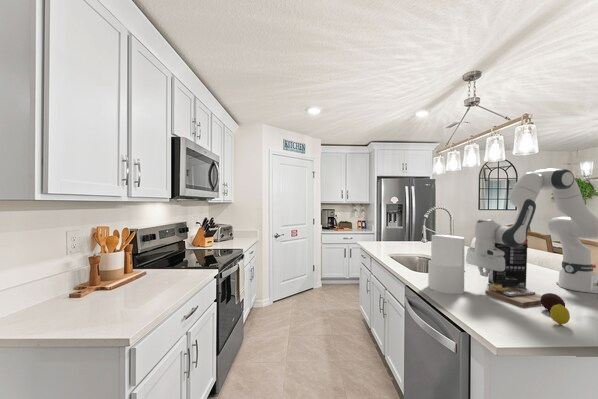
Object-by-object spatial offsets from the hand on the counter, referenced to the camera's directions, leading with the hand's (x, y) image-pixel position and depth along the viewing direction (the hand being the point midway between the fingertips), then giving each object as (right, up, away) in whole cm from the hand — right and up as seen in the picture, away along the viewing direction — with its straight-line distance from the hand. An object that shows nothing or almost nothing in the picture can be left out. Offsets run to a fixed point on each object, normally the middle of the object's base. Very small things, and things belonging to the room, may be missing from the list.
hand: (484, 276), depth 150 cm
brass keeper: (+3, -6, -8) cm, 10 cm away
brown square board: (+9, -8, -11) cm, 17 cm away
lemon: (+3, -8, -41) cm, 42 cm away
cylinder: (-18, -8, +4) cm, 20 cm away
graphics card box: (+20, -8, +10) cm, 24 cm away
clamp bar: (+10, -6, -12) cm, 16 cm away
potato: (+12, -8, -27) cm, 31 cm away
